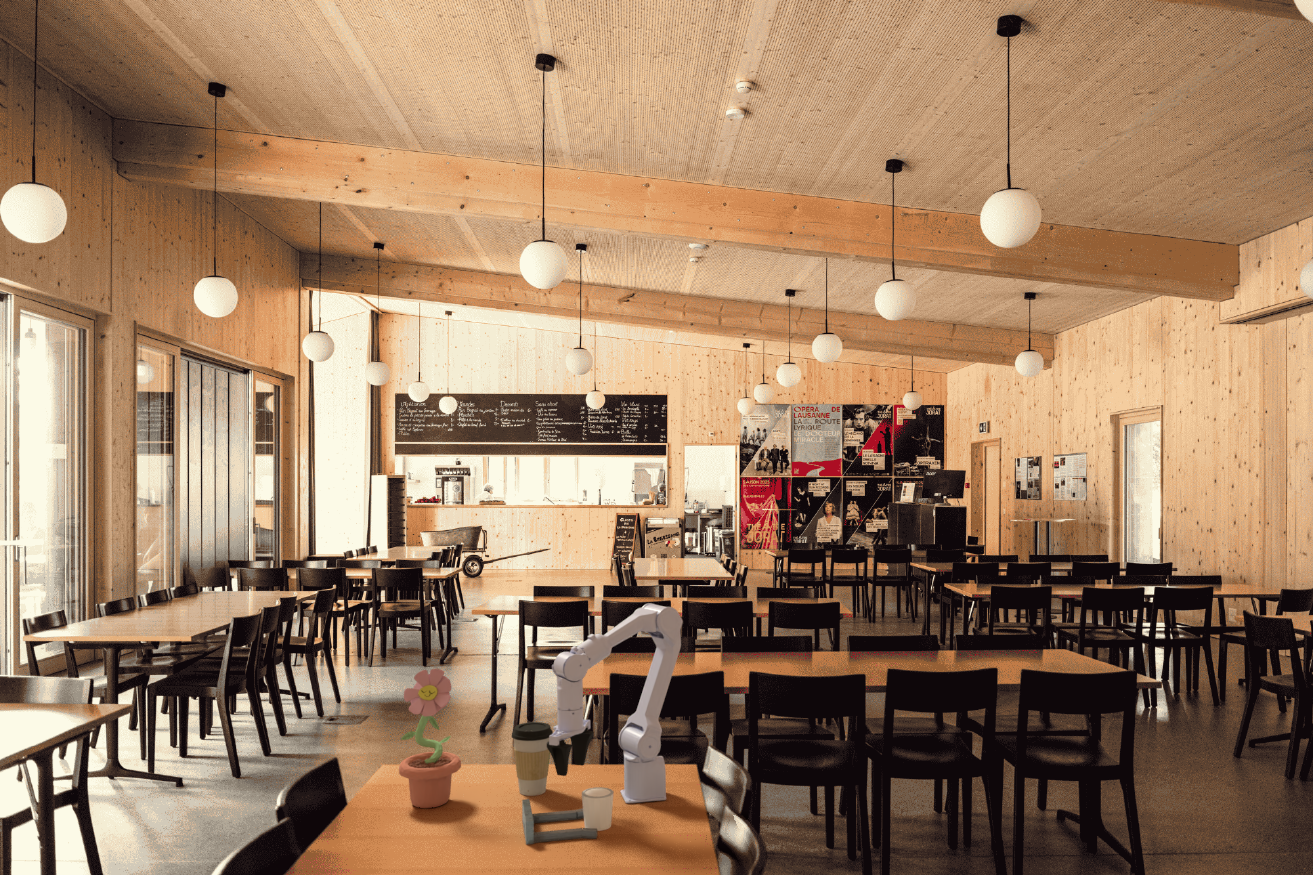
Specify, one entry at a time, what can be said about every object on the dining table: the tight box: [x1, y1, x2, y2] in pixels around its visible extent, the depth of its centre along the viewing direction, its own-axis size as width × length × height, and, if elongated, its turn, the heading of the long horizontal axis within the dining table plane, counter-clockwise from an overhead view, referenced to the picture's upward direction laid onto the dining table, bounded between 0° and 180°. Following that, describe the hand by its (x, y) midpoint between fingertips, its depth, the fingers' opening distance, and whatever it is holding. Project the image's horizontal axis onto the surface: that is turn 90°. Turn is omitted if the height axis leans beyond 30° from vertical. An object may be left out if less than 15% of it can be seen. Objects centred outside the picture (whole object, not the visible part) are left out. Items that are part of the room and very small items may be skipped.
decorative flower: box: [398, 668, 462, 809], centre depth 203 cm, size 15×14×30 cm
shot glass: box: [581, 786, 614, 832], centre depth 187 cm, size 7×7×7 cm
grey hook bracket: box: [521, 798, 598, 845], centre depth 185 cm, size 15×14×4 cm
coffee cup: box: [511, 721, 554, 797], centre depth 209 cm, size 10×10×15 cm
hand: (570, 769), depth 195 cm, fingers open, 7 cm apart
